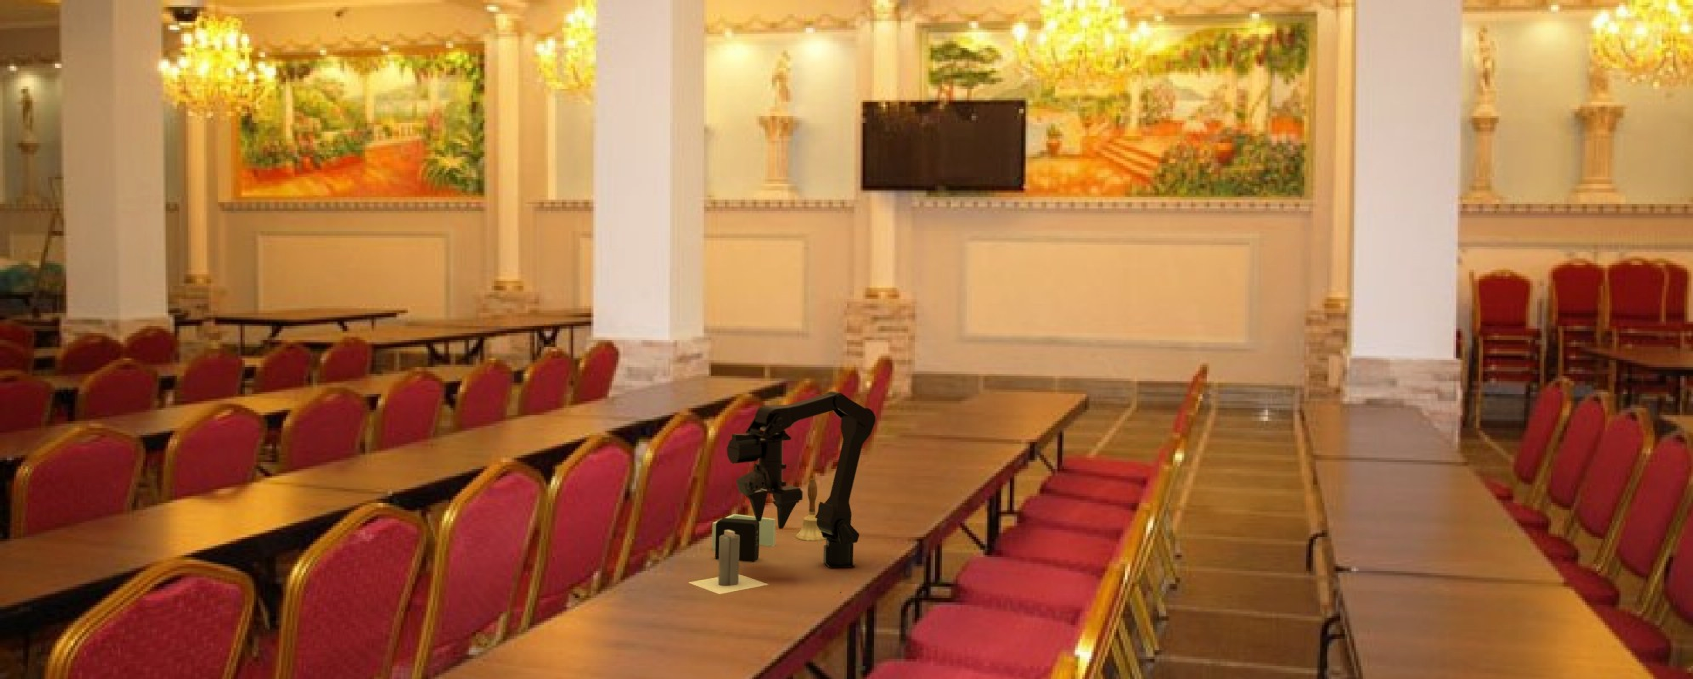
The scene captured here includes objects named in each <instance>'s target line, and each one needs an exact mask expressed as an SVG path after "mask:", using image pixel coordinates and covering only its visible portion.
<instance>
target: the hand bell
mask: <svg viewBox="0 0 1693 679" xmlns="http://www.w3.org/2000/svg"><path fill="white" fill-rule="evenodd" d="M807 497H808V501H809V504H808V515H807V516H806V515H805V516H804V517H803V522H802V526H801V529H800V531H799V532H798V533H797V534H796V535H795V538H796V539H798V540H800V541H804V542H805V541H806V542H818V541H819V542H820V541H824V540H825V541H826V539H827V538H823V537H822V533H821V531H820V530H819V528H818V526H817V518H815V516H816V515H817V514H816V500H817V498H818V485H817V482H816V478H814V477H813V478H809V482H808V484H807Z"/></svg>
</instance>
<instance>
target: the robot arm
mask: <svg viewBox="0 0 1693 679" xmlns="http://www.w3.org/2000/svg"><path fill="white" fill-rule="evenodd" d="M828 412H833V413H834V414H835V415H836V416H837V417H838V418H839V419H841V420H840V430H841V434H842V435H841V436H842V443H841V447H840V451H839V456H838V460H837V465H836V469H835V473H834V477H833V480H832V481H833V482H832V486H831V491H830V493H829V494H830V495H829V496H828V498H827V499H826V501H825V502H823V501H820V502H819V504H818V508H817V512H816V514H815V515H816V516H815V518H817V526H818V528H819V530H820V531H821V533H822V537H823V538H826V539H825V544H824V545H823V558H822V559H823V560H822V561H823V563H824V564H825V565H826V566H827V567H828V568H829V569H836V568H837V569H839V568H840V569H841V568H855V567H856V564H855V563H854V544H856V543H858V540H859V537H860V533H859V532H858V531H857V530H856V529H855V527H854V526H853V525H852V515H853V514H852V510H851V504H850V499H851V494H852V490H853V487H854V482H855V477H856V474H857V469H858V465H859V461H860V457H861V453H862V448H863V445H864V444H865V443H866V441H867V440H868V439H869V438H870V436H871V434H872V432H873V430H874V427H875V425H876V422H877V421H876V419H877V418H876V417H877V416H876V414H875V413H874V411H873V410H872V409H871V408H869V407H865V406H864V407H863V406H861V404H858V403H857V402H855V401H853V400H852V399H850V398H849V397H847V396H846V395H845V394H844V393H842V392H836V391H833V390H831V391H829V392H826V393H824V394H821V395H820V394H819V395H817V396H814V397H813V396H812V397H811V398H810V397H809V398H807V399H803V400H800V401H796V402H793V403H788V404H767V405H762V406H760V407H758V409H757V410H756V412H755V416H754V418H753V419H752V421H751V423H750V424H749V426H748V428H747V429H746V431H745V433H732V434H731V439H730V440H729V441H728V444H727V447H726V453H727V458H728V460H729V462H730V463H731V464H741V463H742V464H743V463H754V462H755V463H754V465H753V469H752V471H750V472H748V473H745V474H744V475H742V476H740V477H739V478H737V479H735V482H736V485H737V488H738V492H739V493H740V494H742V495H745V497H746V498H747V499H748V500H749V502H750V505H751V508H752V512H753V514H754V517H755V518H756V521H757V522H759V521H761V519H762V518H763V516H764V511H765V506H766V501H767V497H768V493H769V494H771V495H772V498H773V501H772V504H773V505H774V506H775V507H776V516H777V526H778V529H779V530H782V529H784V527H785V526H786V523H787V522H788V519H789V517H790V515H791V514H792V513H793V510H794V508H795V507H796V505H797V504H799V503H800V501H802V500H803V493H804V492H803V490H802V489H801V488H800V487H797V486H793V485H787V481H786V480H783V470H786V469H787V464H785V463H783V459H784V457H783V455H784V454H783V448H784V445H783V444H784V442H785V441H791V440H792V437H791V436H790V435H789V434H788V433H787V432H786V430H787V429H788V428H791V427H793V425H794V424H795V423H797V422H799V421H803V420H805V419H808V418H812V417H815V416H819V415H822V414H824V413H825V414H826V413H828ZM756 461H757V462H758V463H756Z"/></svg>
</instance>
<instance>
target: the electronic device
mask: <svg viewBox="0 0 1693 679" xmlns="http://www.w3.org/2000/svg"><path fill="white" fill-rule="evenodd" d="M716 521H717V523H716V541H715V550H714V551H715V552H714V553H715V554H714V557H715V560H719V536H721V535H724V530H731V531H734V532H735V534H737V535H740V540H739V562H750V563H755V562H756V561H757V560H758V559H759V555H760V554H759V553H760V545H759V522H757V521H756V520H747V519H733V518H726V517H723V518H719V519H718V520H716Z"/></svg>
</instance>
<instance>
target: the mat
mask: <svg viewBox="0 0 1693 679" xmlns="http://www.w3.org/2000/svg"><path fill="white" fill-rule="evenodd" d="M718 577H719V576H716V577H712V578H706V579H701V580H693V581H689V582H688V584H690V585H694V586H696V587H699V588H701V589H703V590H706V591H708V592H712V593H715V594H717V595H722V594H727V593H732V592H737V591H738V592H739V591H743V590H748V589H753V588H758V587H764V586H769V585H770V584H769V583H765V582H763V581H760V580H757V579H753V578H751V577H748V576H745V575H742V574H740V573H739V583H738V584H737V585H733V586H721V585H719V584H718Z"/></svg>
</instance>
